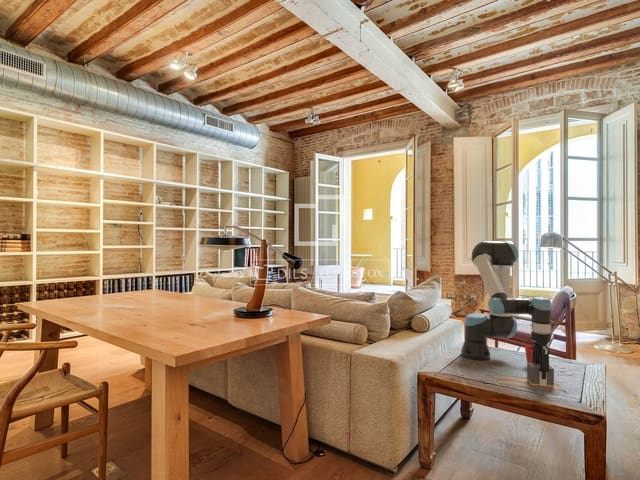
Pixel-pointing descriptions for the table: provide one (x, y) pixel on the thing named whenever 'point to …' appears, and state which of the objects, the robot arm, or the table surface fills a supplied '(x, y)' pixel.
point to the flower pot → (529, 353)
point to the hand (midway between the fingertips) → (540, 382)
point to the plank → (523, 383)
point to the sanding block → (534, 375)
